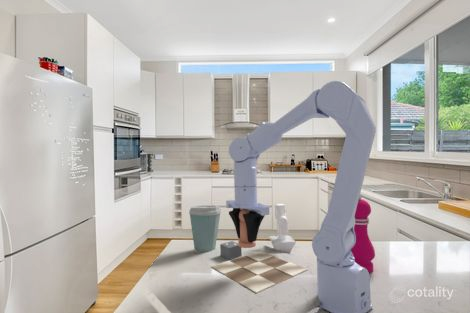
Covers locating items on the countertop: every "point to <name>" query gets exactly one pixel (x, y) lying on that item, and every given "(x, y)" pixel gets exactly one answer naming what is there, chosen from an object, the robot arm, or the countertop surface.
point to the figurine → (282, 231)
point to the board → (259, 270)
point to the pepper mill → (363, 236)
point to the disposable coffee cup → (204, 226)
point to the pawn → (244, 232)
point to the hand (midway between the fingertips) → (246, 239)
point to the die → (230, 250)
